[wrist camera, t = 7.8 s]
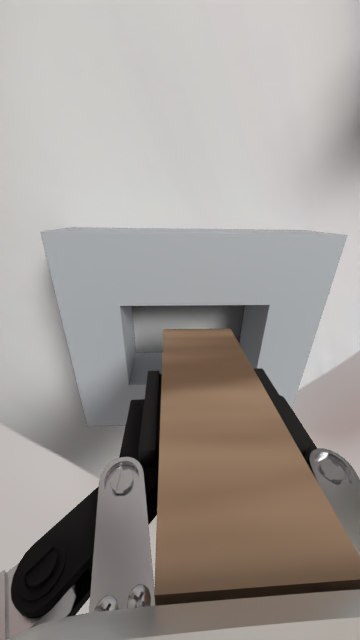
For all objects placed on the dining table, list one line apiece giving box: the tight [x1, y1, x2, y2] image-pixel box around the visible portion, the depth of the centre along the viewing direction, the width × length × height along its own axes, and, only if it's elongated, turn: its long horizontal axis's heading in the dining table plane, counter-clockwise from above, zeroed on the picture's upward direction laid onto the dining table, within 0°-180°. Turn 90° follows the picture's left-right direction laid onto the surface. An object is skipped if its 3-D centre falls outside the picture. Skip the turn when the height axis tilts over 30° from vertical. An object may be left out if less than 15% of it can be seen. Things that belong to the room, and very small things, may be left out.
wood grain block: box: [154, 329, 360, 606], centre depth 9 cm, size 4×4×10 cm
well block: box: [41, 228, 347, 426], centre depth 16 cm, size 14×16×4 cm
